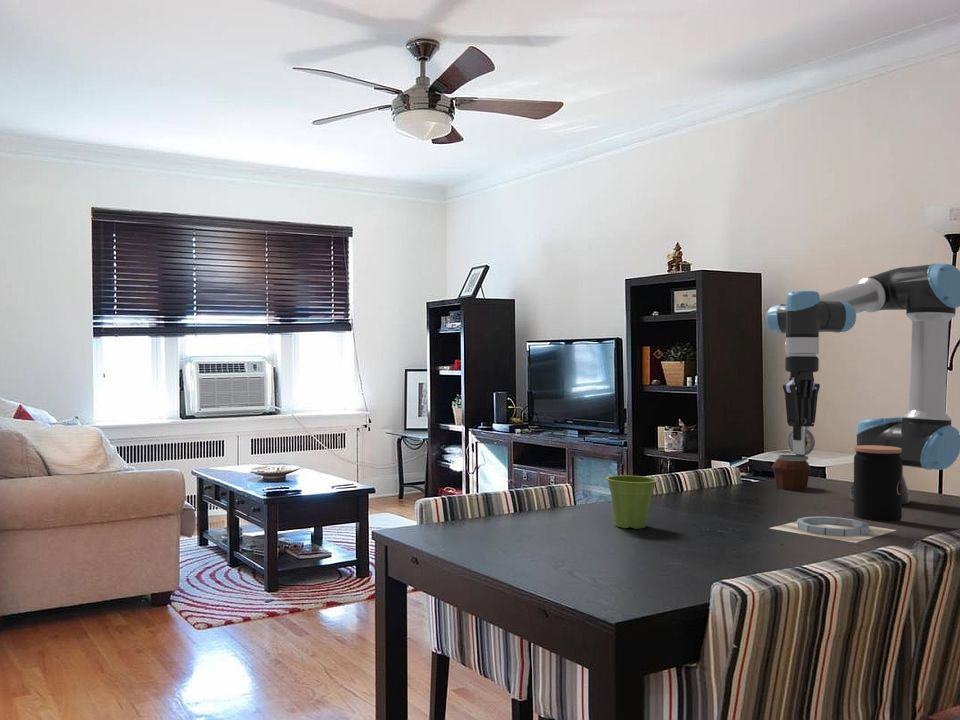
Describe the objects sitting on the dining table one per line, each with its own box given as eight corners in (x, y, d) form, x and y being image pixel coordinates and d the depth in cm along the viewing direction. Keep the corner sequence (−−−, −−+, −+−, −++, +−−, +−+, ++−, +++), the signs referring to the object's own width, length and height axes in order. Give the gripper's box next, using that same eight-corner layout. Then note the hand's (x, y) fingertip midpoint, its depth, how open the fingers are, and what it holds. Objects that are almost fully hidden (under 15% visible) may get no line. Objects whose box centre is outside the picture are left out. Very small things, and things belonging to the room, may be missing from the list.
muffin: (805, 492, 255) (805, 458, 255) (767, 489, 262) (767, 456, 262) (814, 487, 265) (814, 454, 265) (777, 484, 271) (777, 452, 271)
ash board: (812, 521, 209) (812, 517, 209) (896, 534, 194) (896, 530, 194) (768, 532, 196) (768, 528, 196) (855, 547, 181) (855, 542, 181)
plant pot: (645, 533, 194) (646, 483, 194) (597, 527, 201) (597, 479, 201) (664, 525, 204) (664, 477, 204) (617, 519, 211) (617, 473, 211)
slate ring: (817, 520, 205) (817, 514, 205) (879, 529, 194) (879, 523, 194) (785, 528, 196) (785, 521, 196) (849, 538, 185) (849, 531, 185)
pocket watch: (779, 461, 202) (779, 418, 202) (777, 457, 210) (777, 416, 210) (816, 462, 200) (816, 419, 200) (813, 458, 208) (813, 417, 208)
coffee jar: (907, 526, 204) (907, 450, 204) (859, 524, 206) (859, 449, 206) (894, 518, 214) (895, 445, 214) (849, 516, 217) (849, 444, 216)
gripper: (802, 355, 214) (801, 450, 214) (771, 355, 205) (770, 454, 205) (831, 355, 209) (830, 453, 209) (800, 355, 199) (799, 457, 199)
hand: (801, 453), depth 207 cm, fingers closed on pocket watch
